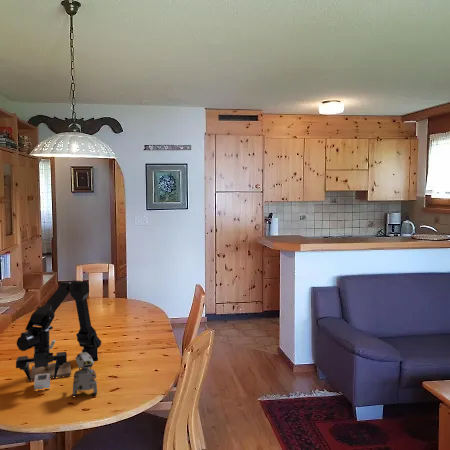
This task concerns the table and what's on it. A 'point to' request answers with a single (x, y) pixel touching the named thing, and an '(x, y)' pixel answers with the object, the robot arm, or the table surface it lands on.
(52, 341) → the lighter
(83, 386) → the figurine
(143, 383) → the table surface
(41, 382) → the steel link
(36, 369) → the grey peg stand
